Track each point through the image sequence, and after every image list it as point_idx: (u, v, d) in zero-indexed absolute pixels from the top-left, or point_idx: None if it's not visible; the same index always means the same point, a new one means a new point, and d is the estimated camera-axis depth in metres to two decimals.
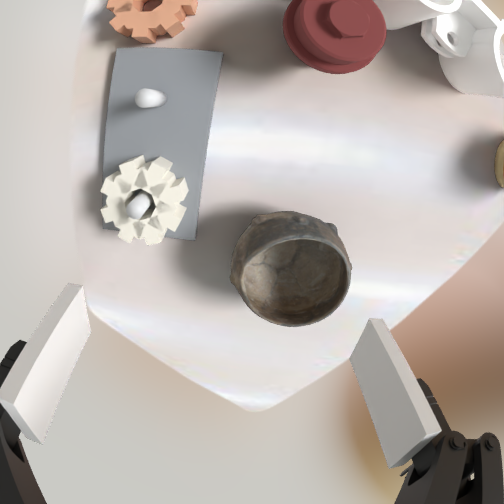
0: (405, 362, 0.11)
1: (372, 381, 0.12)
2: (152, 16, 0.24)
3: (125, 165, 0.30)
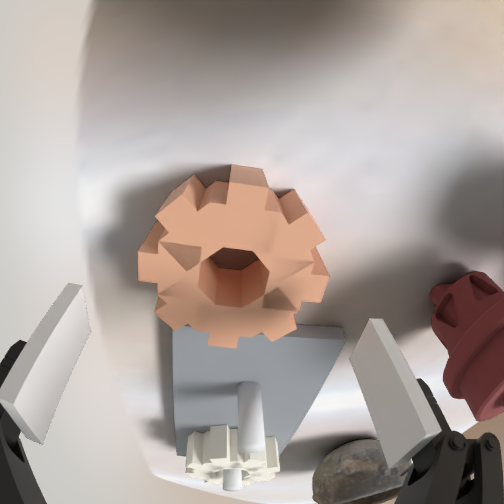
0: (405, 362, 0.11)
1: (372, 382, 0.12)
2: (245, 317, 0.17)
3: (217, 459, 0.24)
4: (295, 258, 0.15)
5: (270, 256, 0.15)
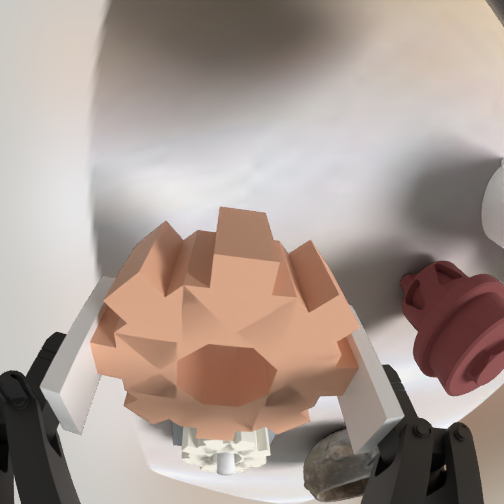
0: (371, 347, 0.11)
1: None
2: (243, 415, 0.12)
3: (210, 441, 0.27)
4: (315, 352, 0.10)
5: (279, 353, 0.10)
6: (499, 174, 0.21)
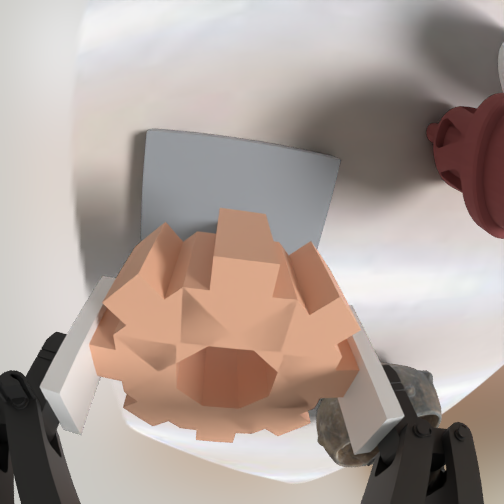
0: (371, 347, 0.11)
1: None
2: (243, 417, 0.12)
3: None
4: (315, 355, 0.10)
5: (279, 355, 0.10)
6: None
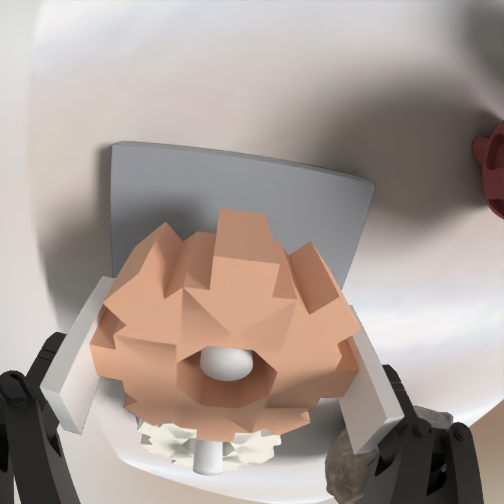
0: (371, 347, 0.11)
1: None
2: (243, 417, 0.12)
3: None
4: (315, 354, 0.10)
5: (279, 355, 0.10)
6: None
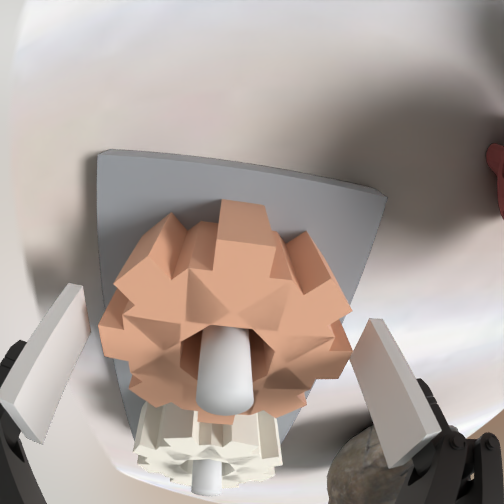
0: (405, 362, 0.11)
1: (372, 382, 0.12)
2: None
3: (176, 440, 0.14)
4: (310, 335, 0.11)
5: (276, 334, 0.11)
6: None
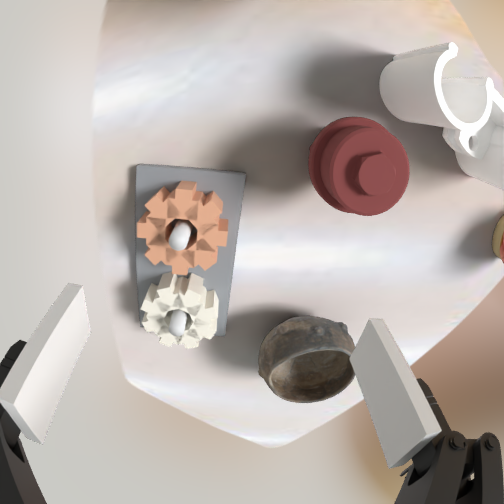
0: (405, 362, 0.11)
1: (372, 382, 0.12)
2: (189, 255, 0.34)
3: (162, 290, 0.36)
4: (209, 222, 0.32)
5: (196, 222, 0.32)
6: (389, 63, 0.29)
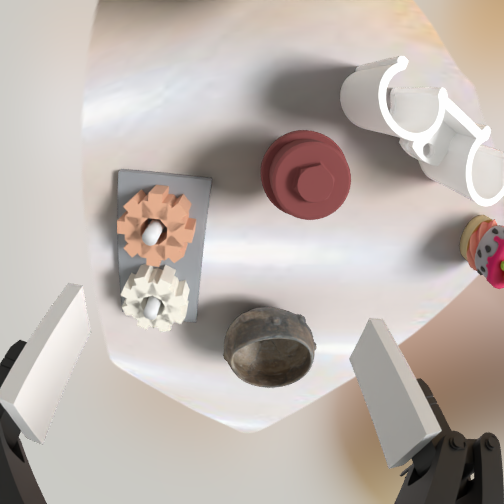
0: (405, 362, 0.11)
1: (372, 382, 0.12)
2: (160, 249, 0.39)
3: (139, 279, 0.41)
4: (176, 222, 0.37)
5: (166, 221, 0.37)
6: (351, 75, 0.34)
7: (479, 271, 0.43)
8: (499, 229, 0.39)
